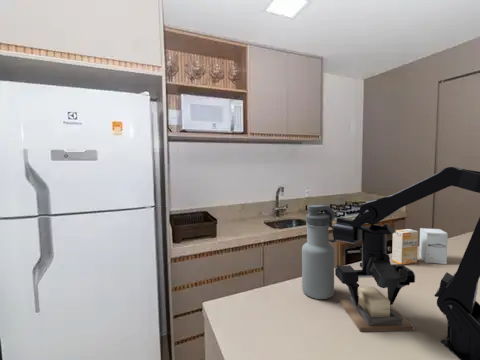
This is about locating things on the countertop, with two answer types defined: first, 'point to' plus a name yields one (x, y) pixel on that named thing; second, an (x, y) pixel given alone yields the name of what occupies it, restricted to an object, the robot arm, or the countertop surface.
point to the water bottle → (318, 254)
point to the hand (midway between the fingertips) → (373, 304)
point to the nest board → (375, 318)
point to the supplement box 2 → (433, 246)
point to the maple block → (374, 302)
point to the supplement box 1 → (405, 246)
